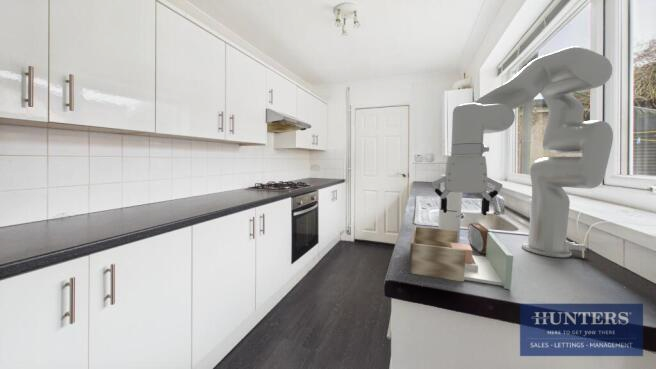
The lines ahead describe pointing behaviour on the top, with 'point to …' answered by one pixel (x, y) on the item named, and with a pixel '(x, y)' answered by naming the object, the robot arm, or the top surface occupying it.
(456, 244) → the block
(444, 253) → the caddy
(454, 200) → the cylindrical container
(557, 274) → the top surface
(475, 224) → the tin
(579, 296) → the top surface
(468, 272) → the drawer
